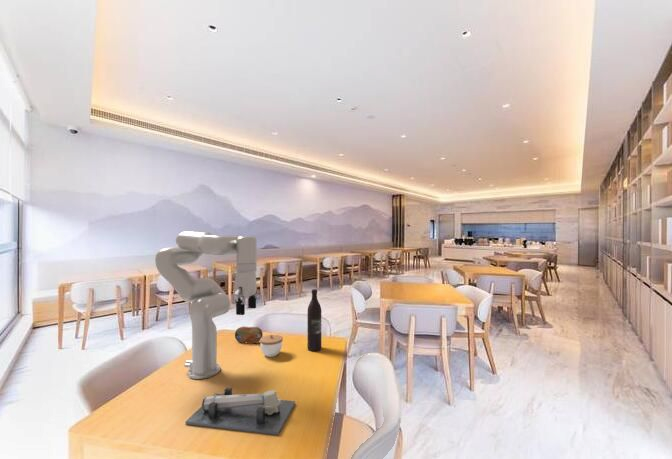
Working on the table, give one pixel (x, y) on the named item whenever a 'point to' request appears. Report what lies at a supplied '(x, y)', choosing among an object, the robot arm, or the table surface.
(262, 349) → the lidded jar
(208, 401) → the white handheld device
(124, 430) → the table surface
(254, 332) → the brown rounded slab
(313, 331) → the wine bottle
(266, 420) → the peg stand
